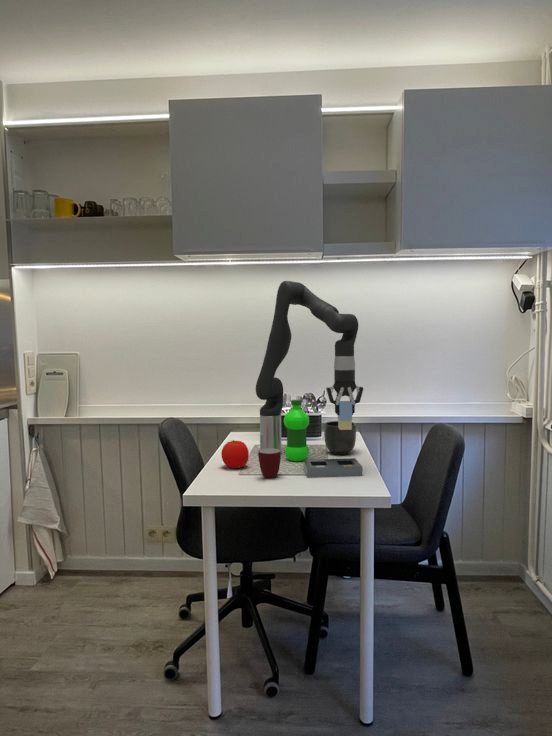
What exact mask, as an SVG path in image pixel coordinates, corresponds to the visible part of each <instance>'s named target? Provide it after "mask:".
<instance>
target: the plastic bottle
mask: <svg viewBox="0 0 552 736" xmlns="http://www.w3.org/2000/svg"><path fill="white" fill-rule="evenodd" d="M302 403H303V401H302V399H292V400H290V405H291V407H292V408H291V409H290V410H289V411H288V412H287V413H286V414H285V415H284V418H283V425H284V427H285V428H286V447H285V449H284V455H285V457H286V458H287V459H288V460H289V461H291V462H303V460H307V458H308V456H309V453H310V449H309V447H308V445H307V428H308V426H309V425H310V417H309V415H308V414H307V413H306V412H305V411H304V410H303V409H302V408H301V406H302Z"/></svg>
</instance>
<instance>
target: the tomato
mask: <svg viewBox="0 0 552 736" xmlns="http://www.w3.org/2000/svg"><path fill="white" fill-rule="evenodd" d="M220 454H221V459H222V462H223V463H224V465H225V466H226V467H228V468H231V469H238V468H243V467H244V466H245V465H246V464H247V463H248V462H249V449H248V447H247V444H245V443H244V441H241V440H234V439H233V440H230V441H227V442H226V443H225V444H224V445H223V446H222V449H221V453H220Z"/></svg>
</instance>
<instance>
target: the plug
mask: <svg viewBox="0 0 552 736" xmlns="http://www.w3.org/2000/svg"><path fill="white" fill-rule="evenodd" d="M337 419H338V420H337V421H338V428H339V429H340V430H352V422H353V415H352V402H350V400H340V402H339V415H337Z"/></svg>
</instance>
